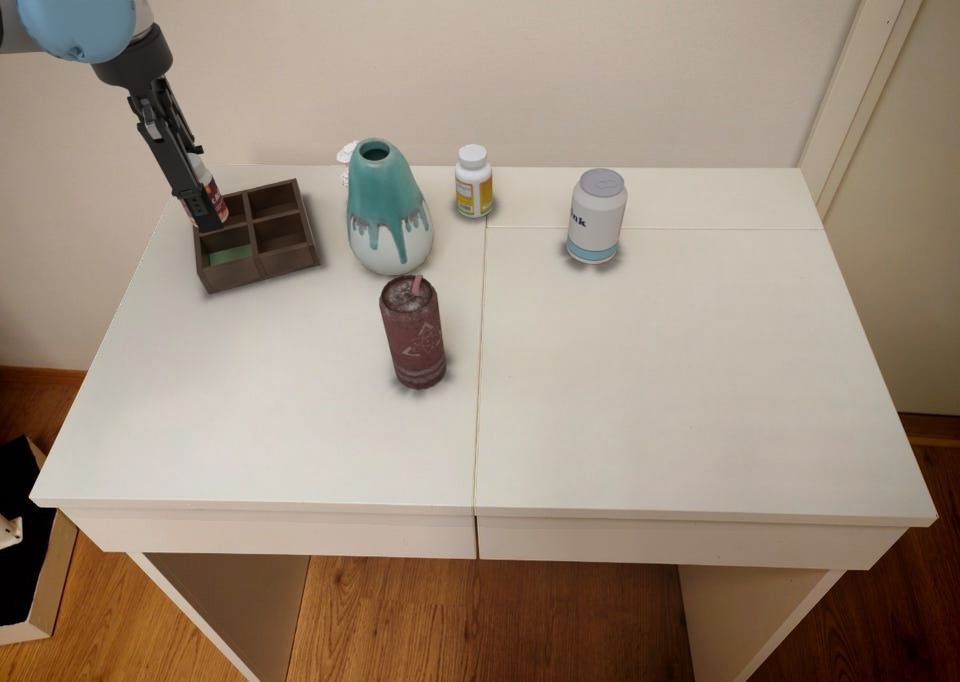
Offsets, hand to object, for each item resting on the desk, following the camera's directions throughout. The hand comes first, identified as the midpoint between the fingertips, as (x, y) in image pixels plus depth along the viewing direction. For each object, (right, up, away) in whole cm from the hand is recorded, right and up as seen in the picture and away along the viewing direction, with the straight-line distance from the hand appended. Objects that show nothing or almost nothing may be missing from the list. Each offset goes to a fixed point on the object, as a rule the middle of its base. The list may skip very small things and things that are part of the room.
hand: (210, 215), depth 76 cm
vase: (+23, -4, +8) cm, 24 cm away
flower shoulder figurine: (+17, +4, +14) cm, 22 cm away
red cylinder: (+28, -20, -4) cm, 34 cm away
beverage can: (+50, -4, +7) cm, 51 cm away
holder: (+2, -2, +10) cm, 11 cm away
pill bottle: (0, 0, 0) cm, 1 cm away
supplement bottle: (+34, +4, +14) cm, 37 cm away
